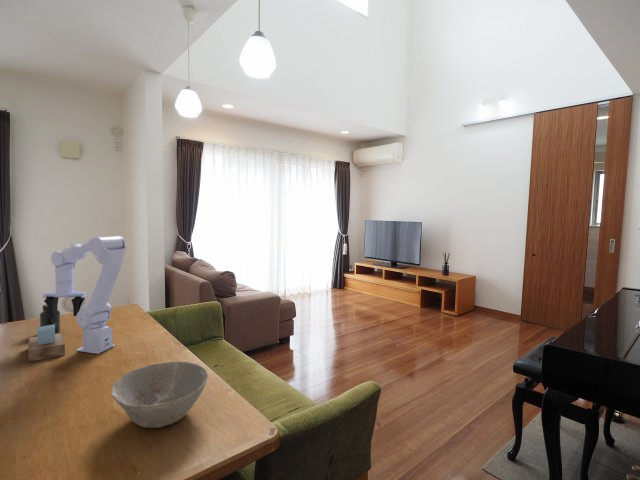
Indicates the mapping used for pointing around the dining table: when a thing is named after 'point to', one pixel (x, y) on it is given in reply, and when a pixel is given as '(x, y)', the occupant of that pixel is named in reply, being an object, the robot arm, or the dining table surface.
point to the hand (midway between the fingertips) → (65, 315)
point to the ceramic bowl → (159, 392)
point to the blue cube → (45, 334)
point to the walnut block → (46, 348)
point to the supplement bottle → (49, 318)
